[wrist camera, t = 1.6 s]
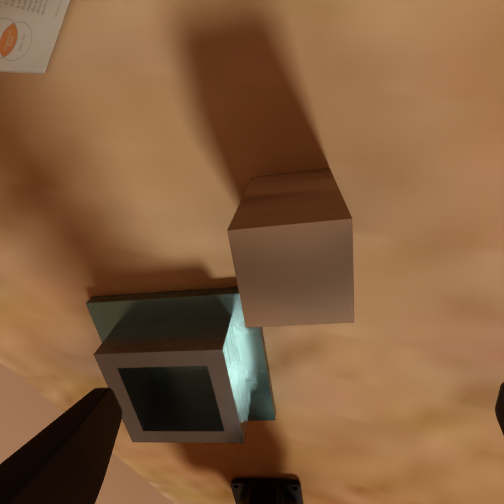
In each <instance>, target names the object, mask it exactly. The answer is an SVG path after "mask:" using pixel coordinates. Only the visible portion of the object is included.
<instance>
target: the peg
mask: <svg viewBox="0 0 504 504" xmlns="http://www.w3.org/2000/svg"><path fill="white" fill-rule="evenodd" d="M227 231H228V237H229V242H230V247H231V252H232V258H233V263H234V268H235V274H236V279H237V284H238V290H239V295H240V300H241V306H242V311H243V316H244V322H245V327H246V328H248V327H269V326H290V325H312V324H333V323H354V283H353V233H352V217H351V215H350V213H349V210H348V208H347V206H346V204H345V201H344V199H343V197H342V195H341V192H340V190H339V188H338V186H337V183H336V181H335V179H334V177H333V175H332V172H331V170H330V168H329V169H321V170H312V171H304V172H295V173H287V174H279V175H270V176H262V177H254V178H251V180H250V182H249V185H248V187H247V189H246V191H245V193H244V195H243V198H242V200H241V202H240V204H239V206H238V208H237V211H236V213H235V215H234V217H233V219H232V221H231V224H230V226H229V228H228V230H227Z"/></svg>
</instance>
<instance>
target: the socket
mask: <svg viewBox="0 0 504 504" xmlns="http://www.w3.org/2000/svg"><path fill="white" fill-rule="evenodd" d="M86 305H87V307H88V310H89V312H90V314H91V317H92V319H93V322H94V324H95V326H96V329H97V331H98V333H99V336H100V338H101V341H102V344H101V345H100V347H99V348H98V349H97V351H96V352H95V353H94V356H95V358H96V360H97V363H98V365H99V367H100V370H101V372H102V374H103V376H104V379H105V381H106V383H107V385H108V388H111V389H112V390H113V391H114V393H115V395H116V397H117V399H118V402H119V404H120V406H121V408H122V419H123V422H124V424H125V426H126V428H127V431H128V433H129V435H130V438H131V440H132V442H171V443H245V435H246V428H247V421H248V420H275V416H276V410H275V404H274V398H273V392H272V386H271V379H270V373H269V367H268V361H267V355H266V349H265V343H264V337H263V330H262V327H248V328H246V327H245V322H244V316H243V311H242V306H241V300H240V295H239V290H238V287H234V288H219V289H204V290H189V291H174V292H159V293H144V294H129V295H115V296H100V297H91V298H90V300H89V301H88V302H87V303H86Z"/></svg>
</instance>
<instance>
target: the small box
mask: <svg viewBox="0 0 504 504" xmlns="http://www.w3.org/2000/svg"><path fill="white" fill-rule="evenodd" d="M69 2H70V0H0V72H14V73H39V74H44V73H45V72H46V69H47V66H48V63H49V60H50V57H51V54H52V51H53V49H54V46H55V43H56V40H57V37H58V34H59V31H60V28H61V25H62V22H63V20H64V17H65V14H66V11H67V8H68V5H69Z"/></svg>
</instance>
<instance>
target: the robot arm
mask: <svg viewBox="0 0 504 504" xmlns="http://www.w3.org/2000/svg"><path fill="white" fill-rule="evenodd" d="M495 413H496V417H497V420H498V423H499V425H500V427H501V430H502V432H503V435H504V382H503V383H502V384H501V386H500V390H499V394H498V398H497V402H496V406H495ZM121 420H122V408H121V406H120V404H119V402H118V399H117V397H116V395H115V393H114V391H113V390H112V389H111V388H95V389H93V390H92V391H91V392H89V393H88V394H87V395H86V396H84V397H83V398H82V399H81V400H79V401H78V402H77V403H76V404H74V405H73V406H72V407H71V408H69V409H68V410H67V411H66V412H64V413H63V414H62V415H61V416H60V417H58V418H57V419H56V420H55V421H53V422H52V423H51V424H50V425H48V426H47V427H46V428H45V429H43V430H42V431H41V432H40V433H38V434H37V435H36V436H35V437H34V438H32V439H31V440H30V441H29V442H27V443H26V444H25V445H24V446H22V447H21V448H20V449H19V450H17V451H16V452H15V453H14V454H12V455H11V456H10V457H9V458H7V459H6V460H5V461H4V462H2V463H1V464H0V504H95V502H96V499H97V496H98V494H99V491H100V489H101V486H102V483H103V480H104V477H105V474H106V471H107V467H108V464H109V461H110V457H111V454H112V450H113V447H114V444H115V440H116V437H117V433H118V430H119V427H120V423H121ZM231 488H232V491H233V495H234V499H235V502H236V504H303V498H302V490H301V483H300V482H299V481H296V480H264V479H233V480H232V483H231Z"/></svg>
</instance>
